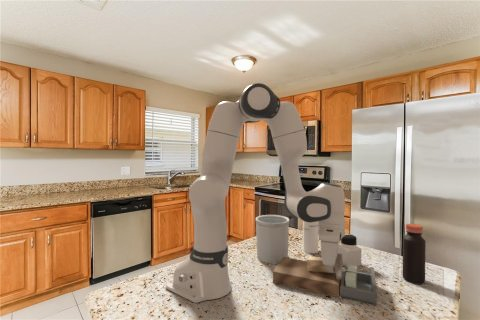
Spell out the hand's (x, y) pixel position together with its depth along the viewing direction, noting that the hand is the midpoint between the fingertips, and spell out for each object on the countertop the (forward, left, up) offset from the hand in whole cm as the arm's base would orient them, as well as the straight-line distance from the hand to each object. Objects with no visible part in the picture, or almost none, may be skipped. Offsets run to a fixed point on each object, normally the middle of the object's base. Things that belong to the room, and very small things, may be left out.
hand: (331, 268), depth 87 cm
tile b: (+5, +3, -2) cm, 6 cm away
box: (+8, 0, -6) cm, 10 cm away
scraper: (-2, 0, -1) cm, 2 cm away
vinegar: (+27, +17, -6) cm, 32 cm away
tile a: (+5, -3, -2) cm, 6 cm away
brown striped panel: (-8, 0, -6) cm, 10 cm away
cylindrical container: (-12, +30, -6) cm, 33 cm away
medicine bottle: (+5, +22, -6) cm, 23 cm away
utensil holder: (-26, +14, -6) cm, 30 cm away
